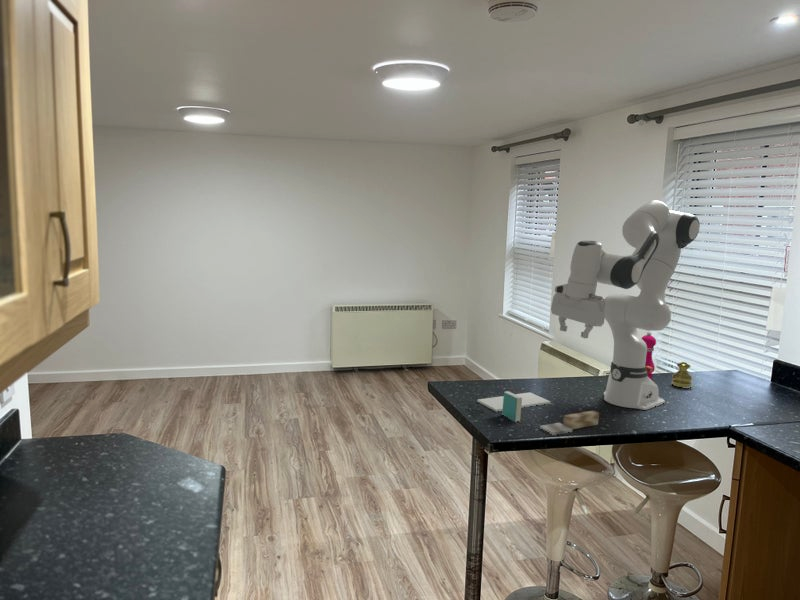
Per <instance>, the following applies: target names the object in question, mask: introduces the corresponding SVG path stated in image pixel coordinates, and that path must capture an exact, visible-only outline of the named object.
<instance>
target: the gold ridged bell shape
mask: <svg viewBox="0 0 800 600" xmlns="http://www.w3.org/2000/svg"><path fill="white" fill-rule="evenodd" d="M676 366H677V367H678V369H679V370H678V371H676V372H675V373H673V374H672V375H671V376H672V379H671V385H672V384H673V385H674V386H678V387H691V388H692V380H693V376H692V375H690V373H689V372H688V370H689V369H690V368H691V364H689V363H687V362H684V361H681V362H678V363H677V364H676ZM674 386H673V387H674Z"/></svg>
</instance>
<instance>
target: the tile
mask: <svg viewBox="0 0 800 600" xmlns="http://www.w3.org/2000/svg"><path fill="white" fill-rule="evenodd" d="M503 396H504V398H503V410H502V411H501V412H502V413H501V414H502V416H503V415H504V416H503V417H505V416H506V417H505V418H507V417H508V418H507V419H509V420H511V421H512V422H515V423H518V422H517V421H519V422H521V417H522V415H521V414H522V408H521V404H522V397H520V396H518V395H515V393H513V392H511V391H509V390H508V391H504V392H503Z"/></svg>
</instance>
